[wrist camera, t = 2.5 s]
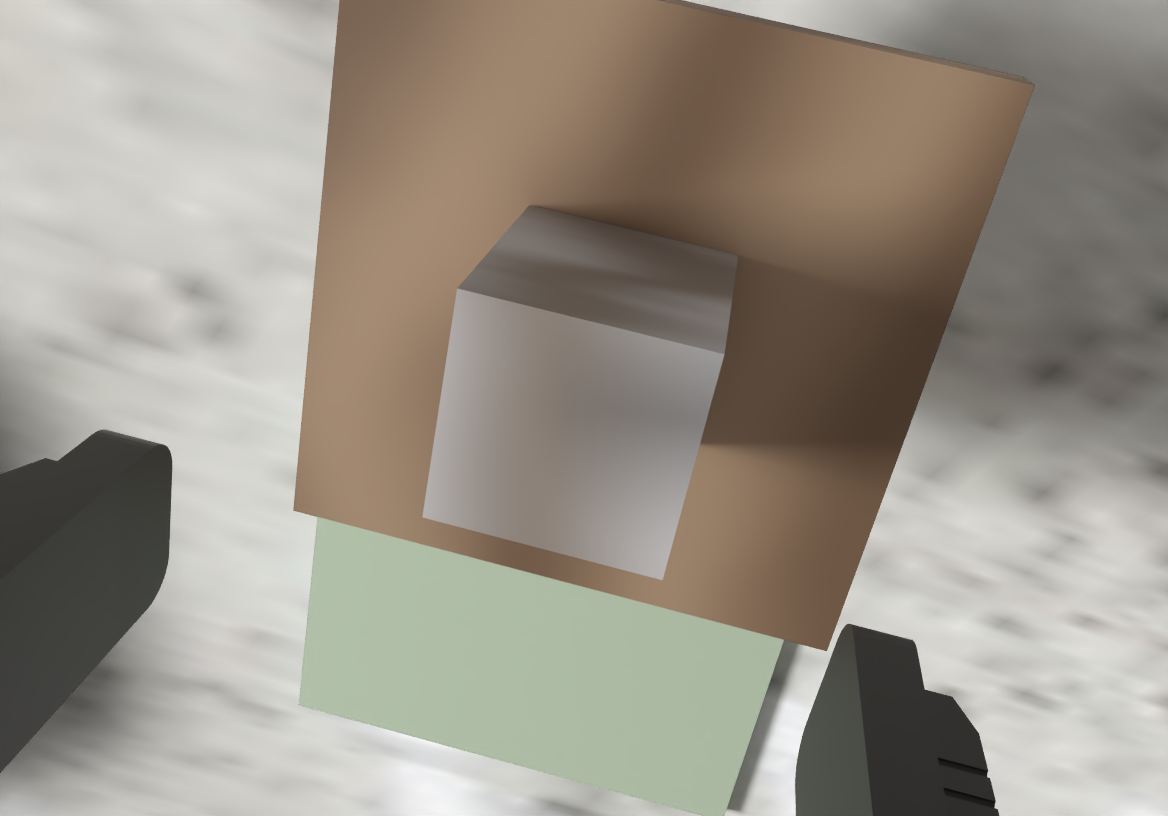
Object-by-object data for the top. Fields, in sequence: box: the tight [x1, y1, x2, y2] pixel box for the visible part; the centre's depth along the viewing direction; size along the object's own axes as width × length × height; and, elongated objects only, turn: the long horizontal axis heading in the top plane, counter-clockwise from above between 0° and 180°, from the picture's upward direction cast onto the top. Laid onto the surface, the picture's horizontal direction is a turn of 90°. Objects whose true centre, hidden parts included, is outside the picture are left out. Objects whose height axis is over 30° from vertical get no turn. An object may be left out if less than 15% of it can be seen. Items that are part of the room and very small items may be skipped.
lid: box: [293, 0, 1035, 651], centre depth 19 cm, size 12×12×6 cm
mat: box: [299, 517, 784, 816], centre depth 37 cm, size 16×13×1 cm
